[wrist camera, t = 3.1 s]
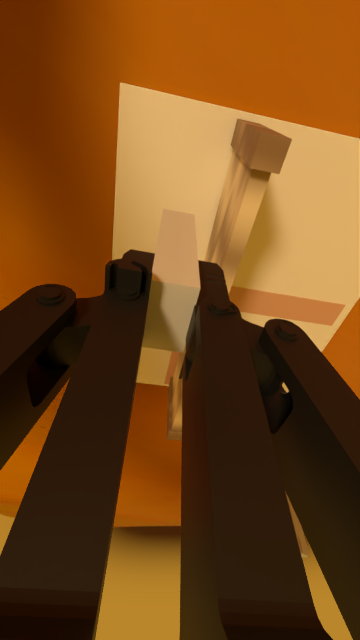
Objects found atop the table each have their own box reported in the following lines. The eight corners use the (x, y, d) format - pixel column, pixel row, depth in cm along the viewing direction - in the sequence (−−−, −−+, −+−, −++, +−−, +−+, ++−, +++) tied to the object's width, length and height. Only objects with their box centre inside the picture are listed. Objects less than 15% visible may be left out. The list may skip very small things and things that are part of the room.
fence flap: (211, 286, 32) (218, 339, 25) (195, 284, 32) (198, 336, 25) (259, 123, 23) (292, 139, 16) (237, 118, 23) (261, 132, 16)
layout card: (107, 376, 43) (106, 379, 42) (120, 82, 22) (119, 82, 22) (287, 398, 46) (288, 401, 46) (449, 159, 25) (453, 161, 25)
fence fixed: (191, 282, 32) (195, 340, 25) (213, 286, 33) (222, 344, 25) (166, 383, 43) (163, 445, 36) (182, 385, 43) (183, 446, 36)
